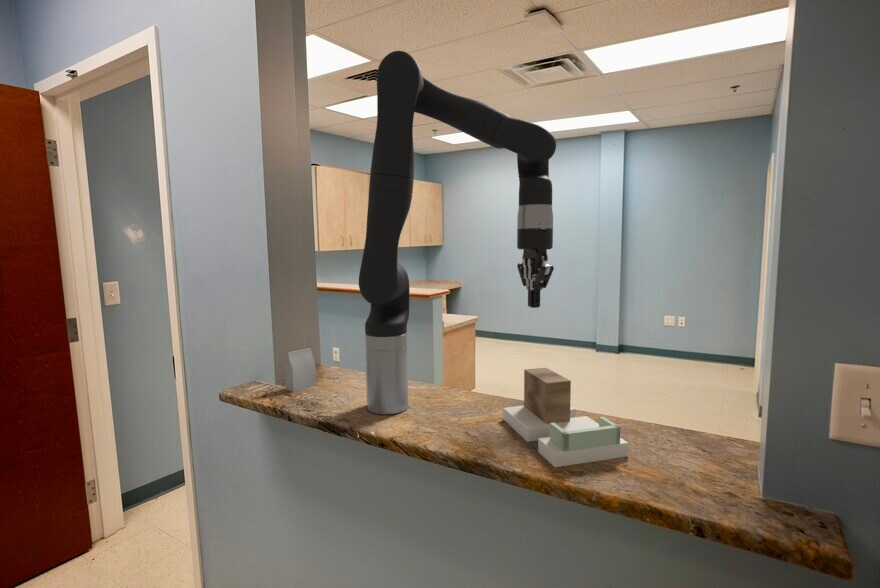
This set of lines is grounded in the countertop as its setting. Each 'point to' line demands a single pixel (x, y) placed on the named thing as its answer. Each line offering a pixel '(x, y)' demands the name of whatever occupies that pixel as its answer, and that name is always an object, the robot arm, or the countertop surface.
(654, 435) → the countertop surface
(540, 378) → the walnut block
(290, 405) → the countertop surface
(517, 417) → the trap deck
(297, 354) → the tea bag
